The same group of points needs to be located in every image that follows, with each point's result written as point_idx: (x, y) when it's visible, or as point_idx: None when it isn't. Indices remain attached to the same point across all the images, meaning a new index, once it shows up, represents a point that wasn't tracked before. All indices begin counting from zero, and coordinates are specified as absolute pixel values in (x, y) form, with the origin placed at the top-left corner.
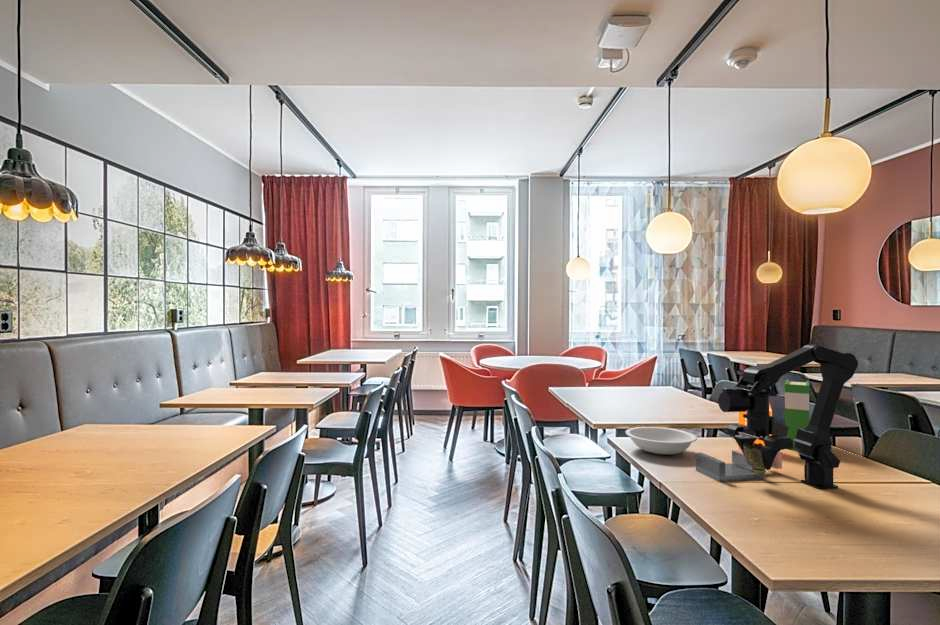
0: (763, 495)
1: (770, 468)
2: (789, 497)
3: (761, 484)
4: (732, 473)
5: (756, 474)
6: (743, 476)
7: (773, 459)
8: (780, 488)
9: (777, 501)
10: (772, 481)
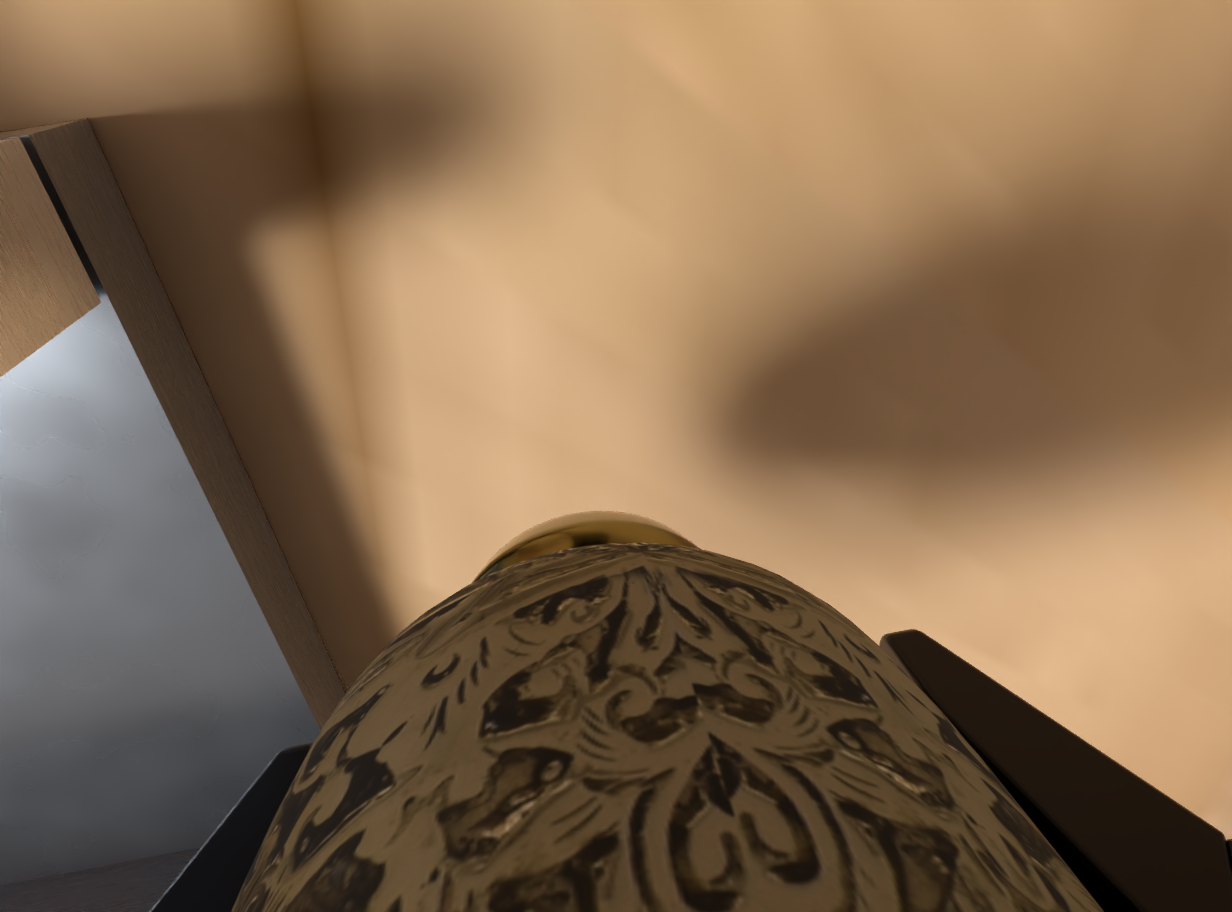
0: (911, 575)
1: (935, 641)
2: (1069, 291)
3: (473, 369)
4: (193, 702)
5: (132, 336)
6: (255, 569)
7: (1211, 850)
8: (685, 157)
9: (1117, 526)
10: (248, 29)
